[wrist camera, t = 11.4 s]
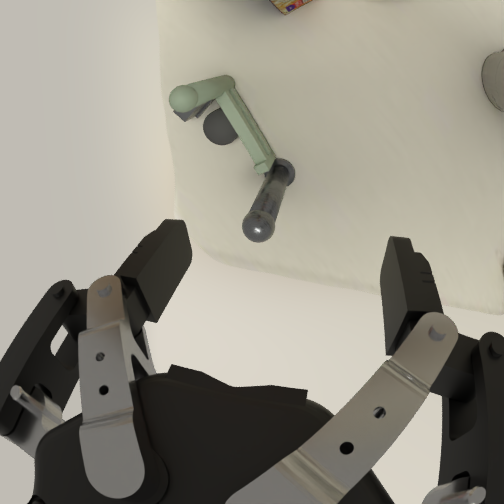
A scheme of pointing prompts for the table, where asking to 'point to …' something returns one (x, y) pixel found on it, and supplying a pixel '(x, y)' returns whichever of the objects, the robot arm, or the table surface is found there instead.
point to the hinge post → (268, 202)
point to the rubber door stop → (219, 128)
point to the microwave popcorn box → (288, 5)
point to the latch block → (193, 111)
